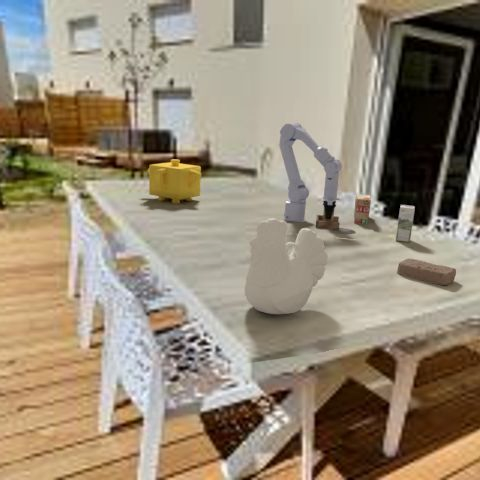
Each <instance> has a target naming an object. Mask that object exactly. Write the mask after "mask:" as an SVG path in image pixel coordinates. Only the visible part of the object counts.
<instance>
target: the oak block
mask: <svg viewBox="0 0 480 480" xmlns="http://www.w3.org/2000/svg"><path fill="white" fill-rule="evenodd" d="M322 215H323V221H330V222H333V218H334V215H335V209H334V210H333V213H332V217H331V219H326V217H325V208H324V207H323V214H322Z"/></svg>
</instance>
